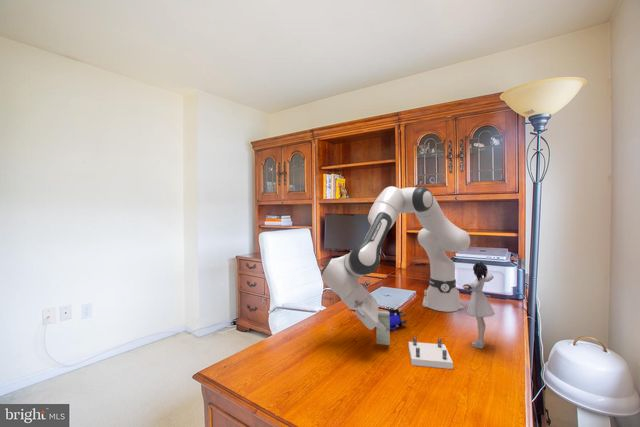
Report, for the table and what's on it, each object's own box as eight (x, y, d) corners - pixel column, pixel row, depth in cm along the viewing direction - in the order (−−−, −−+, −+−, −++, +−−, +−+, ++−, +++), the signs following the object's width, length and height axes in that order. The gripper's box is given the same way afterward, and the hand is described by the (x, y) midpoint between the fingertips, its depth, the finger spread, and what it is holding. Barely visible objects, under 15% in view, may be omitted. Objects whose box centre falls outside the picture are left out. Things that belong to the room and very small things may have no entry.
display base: (408, 347, 105) (408, 334, 105) (444, 350, 103) (444, 337, 102) (411, 365, 93) (411, 351, 93) (452, 369, 91) (452, 354, 91)
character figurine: (410, 329, 121) (380, 337, 114) (398, 321, 128) (369, 328, 121) (411, 310, 120) (381, 317, 114) (398, 304, 127) (370, 310, 120)
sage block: (376, 338, 108) (376, 310, 107) (389, 339, 107) (389, 311, 106) (376, 343, 103) (376, 315, 103) (389, 344, 102) (389, 316, 102)
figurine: (479, 332, 116) (479, 256, 116) (504, 339, 110) (504, 259, 110) (454, 355, 99) (454, 265, 98) (481, 364, 93) (482, 269, 92)
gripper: (360, 300, 96) (392, 333, 94) (364, 284, 116) (390, 310, 114) (347, 313, 97) (378, 345, 95) (353, 294, 117) (378, 321, 115)
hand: (384, 326), depth 105 cm, fingers closed on sage block, 4 cm apart
